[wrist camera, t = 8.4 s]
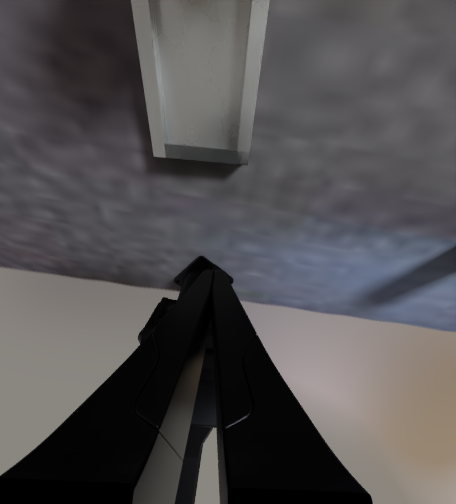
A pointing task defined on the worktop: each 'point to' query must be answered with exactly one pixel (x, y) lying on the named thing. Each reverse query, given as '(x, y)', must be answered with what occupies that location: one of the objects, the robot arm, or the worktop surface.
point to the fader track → (201, 75)
